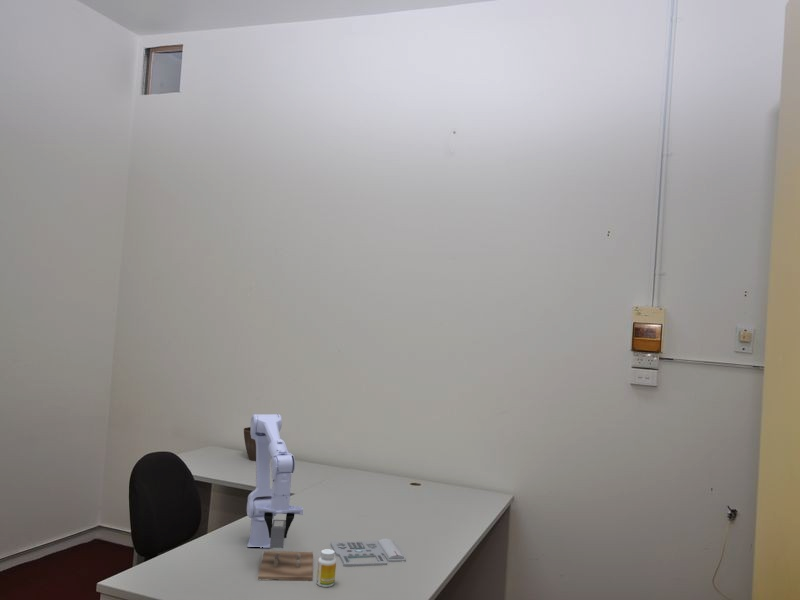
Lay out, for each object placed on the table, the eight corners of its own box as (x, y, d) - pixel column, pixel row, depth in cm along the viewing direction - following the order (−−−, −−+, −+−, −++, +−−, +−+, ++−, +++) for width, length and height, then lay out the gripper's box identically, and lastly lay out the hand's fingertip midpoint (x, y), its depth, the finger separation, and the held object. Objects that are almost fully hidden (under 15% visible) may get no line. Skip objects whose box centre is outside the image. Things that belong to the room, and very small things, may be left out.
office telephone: (394, 536, 227) (410, 558, 208) (393, 544, 227) (410, 566, 208) (330, 537, 220) (341, 560, 201) (330, 545, 220) (340, 568, 201)
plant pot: (235, 460, 331) (238, 429, 331) (251, 454, 345) (253, 425, 345) (260, 464, 326) (263, 433, 326) (275, 458, 340) (277, 428, 341)
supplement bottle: (312, 582, 188) (315, 550, 188) (326, 578, 192) (328, 546, 192) (324, 589, 184) (326, 556, 185) (338, 584, 188) (340, 552, 189)
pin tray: (263, 554, 208) (264, 545, 208) (312, 554, 210) (313, 545, 210) (258, 579, 188) (258, 569, 188) (312, 580, 190) (312, 570, 190)
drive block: (271, 538, 202) (273, 519, 202) (284, 538, 202) (285, 519, 202) (269, 547, 194) (271, 527, 194) (283, 548, 194) (284, 528, 194)
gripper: (256, 496, 194) (253, 541, 193) (303, 497, 195) (300, 542, 195) (258, 489, 201) (255, 532, 200) (304, 491, 202) (301, 534, 202)
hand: (277, 536), depth 198 cm, fingers closed on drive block, 4 cm apart
